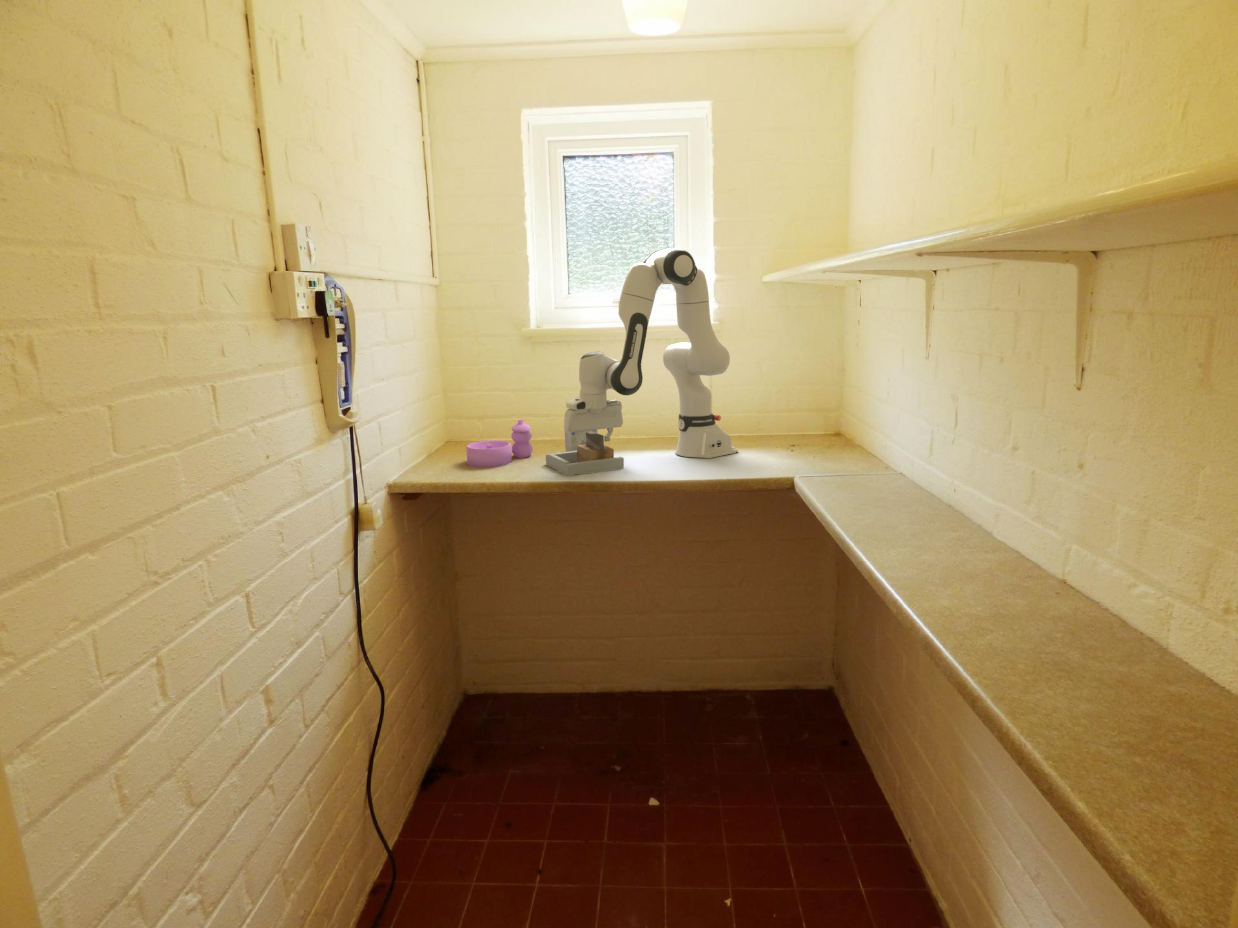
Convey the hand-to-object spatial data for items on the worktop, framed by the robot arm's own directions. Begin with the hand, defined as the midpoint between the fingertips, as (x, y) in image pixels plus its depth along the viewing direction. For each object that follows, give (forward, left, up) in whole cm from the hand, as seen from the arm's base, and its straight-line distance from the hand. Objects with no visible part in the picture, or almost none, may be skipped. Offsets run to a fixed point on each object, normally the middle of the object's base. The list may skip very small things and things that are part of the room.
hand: (594, 442), depth 241 cm
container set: (+25, -24, -8) cm, 36 cm away
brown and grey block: (0, 0, -8) cm, 8 cm away
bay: (+4, 0, -8) cm, 9 cm away
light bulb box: (-3, -18, -8) cm, 20 cm away
